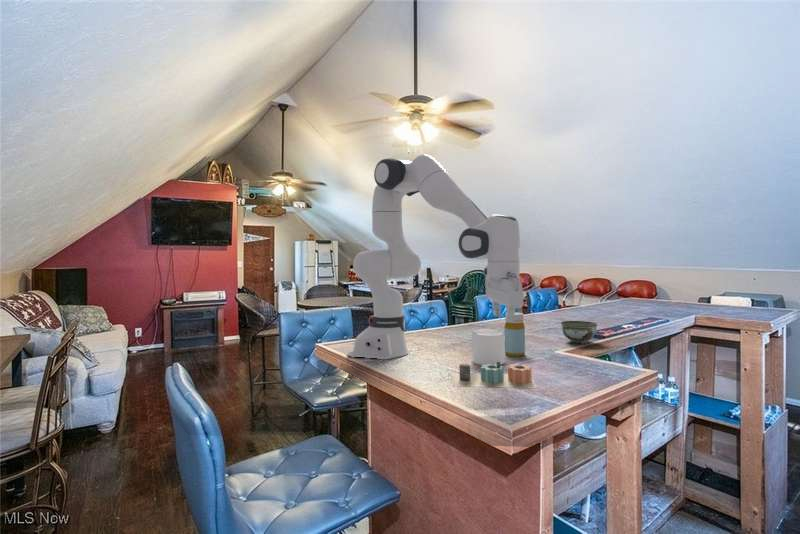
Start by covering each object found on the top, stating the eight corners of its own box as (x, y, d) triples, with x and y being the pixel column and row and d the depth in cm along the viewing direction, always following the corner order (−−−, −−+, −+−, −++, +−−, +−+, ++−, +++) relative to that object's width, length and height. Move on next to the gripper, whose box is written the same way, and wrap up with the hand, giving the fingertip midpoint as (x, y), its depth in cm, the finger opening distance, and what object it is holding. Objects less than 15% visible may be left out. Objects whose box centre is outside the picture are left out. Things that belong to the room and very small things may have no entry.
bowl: (595, 347, 149) (595, 326, 148) (558, 344, 156) (558, 324, 156) (598, 340, 160) (598, 321, 160) (564, 338, 167) (563, 319, 167)
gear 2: (511, 384, 104) (511, 370, 104) (505, 377, 110) (505, 364, 110) (534, 383, 104) (534, 370, 104) (527, 376, 110) (527, 364, 110)
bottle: (526, 357, 136) (525, 314, 136) (505, 356, 138) (504, 314, 138) (523, 352, 143) (523, 312, 143) (504, 352, 145) (503, 311, 144)
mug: (464, 359, 135) (464, 329, 135) (492, 357, 137) (491, 327, 137) (480, 370, 122) (479, 336, 122) (510, 368, 124) (509, 334, 124)
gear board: (452, 390, 104) (452, 371, 103) (452, 377, 115) (451, 359, 115) (538, 392, 101) (537, 372, 101) (528, 378, 113) (528, 360, 113)
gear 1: (484, 383, 105) (483, 365, 105) (478, 376, 111) (478, 359, 111) (506, 383, 105) (506, 364, 105) (499, 376, 111) (499, 358, 111)
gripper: (529, 273, 101) (529, 326, 102) (501, 268, 122) (501, 312, 122) (506, 274, 101) (505, 326, 101) (481, 269, 121) (481, 313, 122)
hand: (503, 318), depth 112 cm, fingers open, 8 cm apart
